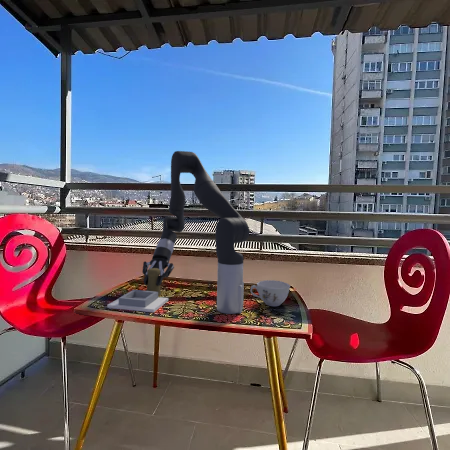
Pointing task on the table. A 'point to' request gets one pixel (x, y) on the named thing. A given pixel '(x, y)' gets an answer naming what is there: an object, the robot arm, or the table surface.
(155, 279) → the cork
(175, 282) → the table surface
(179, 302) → the table surface
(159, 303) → the socket board
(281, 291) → the teacup
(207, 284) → the table surface
